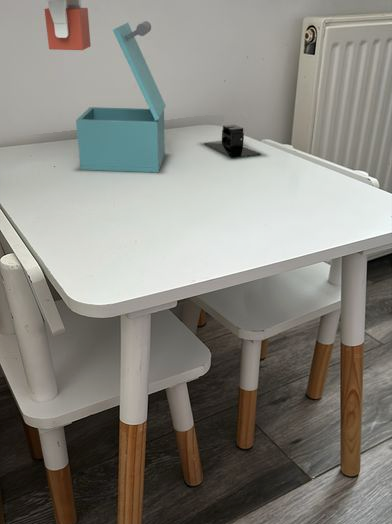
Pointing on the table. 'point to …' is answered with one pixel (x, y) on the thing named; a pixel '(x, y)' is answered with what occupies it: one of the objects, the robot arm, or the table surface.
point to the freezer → (120, 140)
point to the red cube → (78, 30)
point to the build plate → (232, 143)
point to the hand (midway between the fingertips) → (68, 35)
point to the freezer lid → (140, 65)
